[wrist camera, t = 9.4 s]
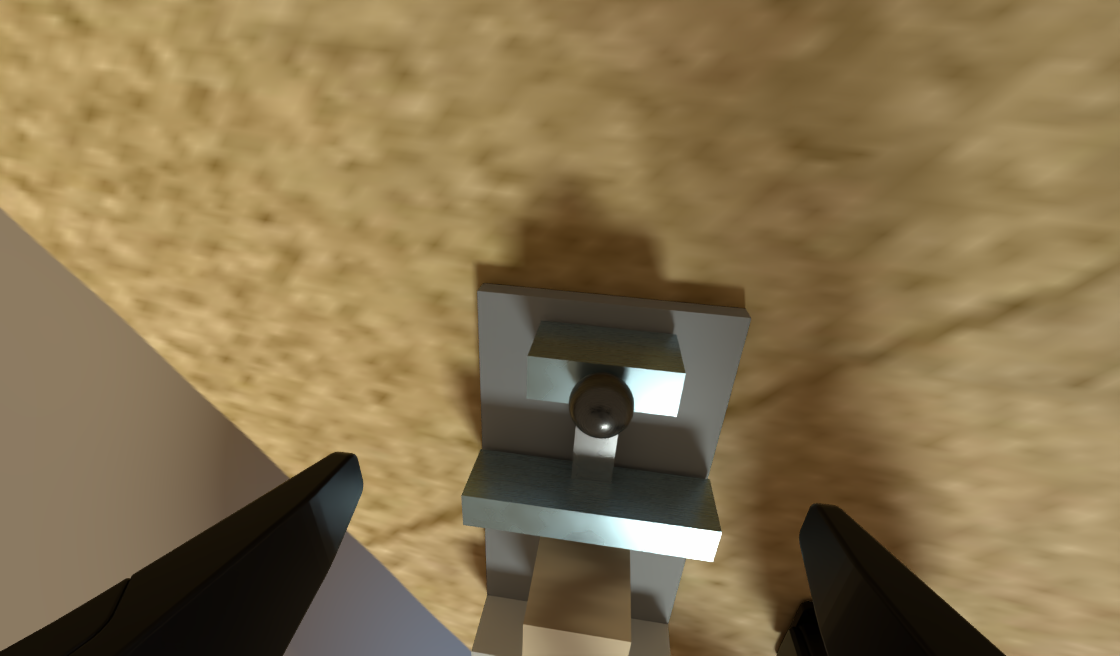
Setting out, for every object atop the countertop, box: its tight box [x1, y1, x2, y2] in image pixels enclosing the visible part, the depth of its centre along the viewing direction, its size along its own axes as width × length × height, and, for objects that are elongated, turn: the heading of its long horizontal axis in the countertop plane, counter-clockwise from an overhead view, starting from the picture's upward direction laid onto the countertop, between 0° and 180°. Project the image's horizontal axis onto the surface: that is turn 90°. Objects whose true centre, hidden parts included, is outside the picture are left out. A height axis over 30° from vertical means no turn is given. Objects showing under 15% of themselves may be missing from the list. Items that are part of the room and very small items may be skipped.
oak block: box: [522, 536, 631, 656], centre depth 25 cm, size 5×7×6 cm
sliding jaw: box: [461, 321, 722, 562], centre depth 20 cm, size 12×10×6 cm
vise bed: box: [471, 283, 751, 656], centre depth 24 cm, size 12×24×4 cm, turn 177°
